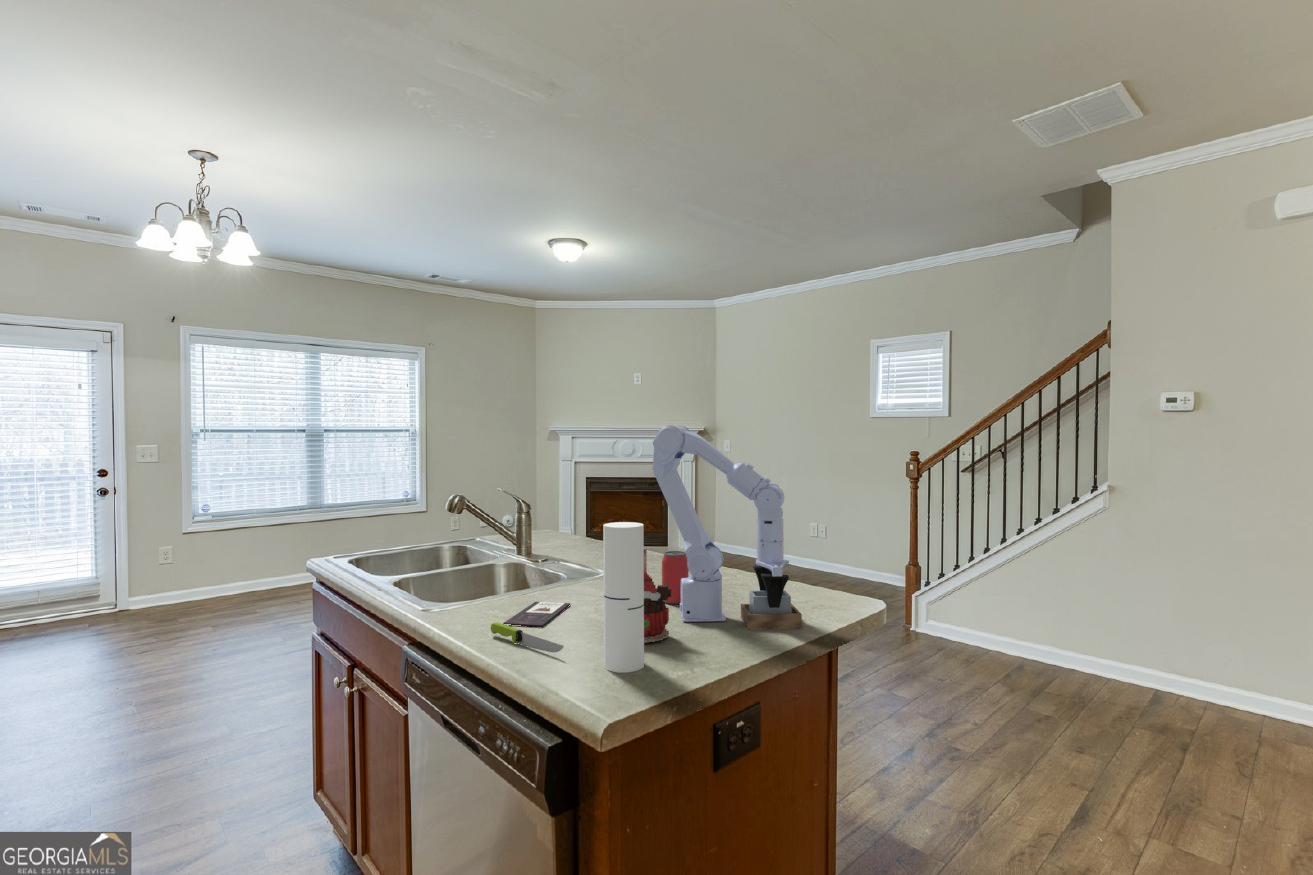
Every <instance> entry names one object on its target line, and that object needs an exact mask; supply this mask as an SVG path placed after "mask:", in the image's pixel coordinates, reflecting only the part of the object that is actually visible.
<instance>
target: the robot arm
mask: <svg viewBox="0 0 1313 875" xmlns="http://www.w3.org/2000/svg"><path fill="white" fill-rule="evenodd" d="M652 446H653V456H652V457H653V459H652V471H653V474H654V476H655V479H656V481H657V483H658V485H659V486H658V487H659V488H660V491H661V492H662V494H663V496H664V499H665V501H666V503H667V506H668V507H669V510H670V512H671V515H672V517H673V519H674V521H675V523H676V525H677V528H678V530H679V532H680V534H681V538H682V539H683V541H684V552H685V553H686V556H687V560H688V561H687V566H688V570H689V578H681V603H680V604H679V611H680V615H681V619H682V622H685V623H687V622H688V623H694V622H696V623H697V622H701V623H702V622H726V621H727V618H726V616H725V614H724V612H723V578H722V577H723V575H722V573H721V571H720V569H721V567H722V566H723V565H724V564H723V563H724V554H723V552H722V550H721V549H720V548H719V547H718V546H716V544H715V543H714V542H713V540H712V538H711V537H710V535H709V534H708V533H707V532H706V531H705V528H704V526H703V524H702V522H701V520H700V518H699V516H698V514H697V512H696V509H695V507H694V505H693V502H692V500H691V498H690V496H689V493H688V491H687V489H686V487H685V485H684V483H683V481H682V478H681V476H680V474H679V472H678V468H679V465H680V462H681V461H682V458H683V456H684V455H685V454H690V455H697V456H699V458H701V459H703V460H704V461H706V462H707V463H709V464H710V465H711V466H713V467H714V468H716V469H717V470H719V471H720V472H722V473H723V474H724V475H726V480H727V483H728V484H729V486H731V487H732V488H733V489H735V490H737V491H738V492H739V493H741V495H743V496H744V497H745V498H747V499H748V500H750V501H753V502H754V506H755V507H756V509H757V512H756V513H757V519H756V559H755V564H756V565H753V566H752V568H753V570H754V572H755V576H756V578H757V581H758V586H759V591H766V592H767V600H768V605H769V607H770V608H779V607H780V603H781V598H782V594H783V590H784V589H785V588H786V587H785V586H786V585H787V583H788V581H789V578H790V576H789V575H788V574H783V567H784V566H785V565H789V564H790V560H788V559H786V558H785V559H784V518H783V516H784V511H783V508H782V506H783V504H784V503H785V493H784V491H783V489H782V488H780V486H779V485H778V484H777V483H771V482H772V480H771V479H770V478H768V477H766V478H765V477H764V476H762V475H761V474H760V473H758V472H757V471H756V470H754V466H753V465H752V464H750V463H748V464H746V463H744V462H739V463H735V462H734V461H733V460H731V459H730V458H729V457H728V456H726V455H725V453H722V452H721V451H720V450H719V449H718V448H716V447H715V446H714V445H713V444H712V443H710V442H709V441H708V440H706V439H705V438H704V437H703V436H701V435H700V434H698V433H696V432H695V431H691V430H690V428H688V427H686V426H685V425H673V424H666V425H664V426H662V427H661V428H660V429H659V430H658V431H657V433H656V435H655V437H654V438H653V441H652Z"/></svg>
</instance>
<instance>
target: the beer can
mask: <svg viewBox="0 0 1313 875" xmlns="http://www.w3.org/2000/svg"><path fill="white" fill-rule="evenodd" d="M687 561H688V560H687V556H686V553H685V551H681V550H668V551H665V552H663V556H662V558H661V585H668V589H671V597H668V600H663V601H665V604H668V605H680V603H681V578H689V577H690V572H689V570H688V566H687Z"/></svg>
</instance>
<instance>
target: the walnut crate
mask: <svg viewBox="0 0 1313 875" xmlns="http://www.w3.org/2000/svg"><path fill="white" fill-rule="evenodd" d="M740 618H741V620H742V622H743V624H744V625H745V627H746V629H747V631H748V630H749V631H751V630H753V631H754V630H755V631H756V630H761V629H762V630H802V629H803V628H802V626H803V624H802V622H803V621H802V618H803V617H802V613H801V612H800V611H799V610H798V609H797V607H795V605H793V603H792V602H791V614H750V613H749V603H740Z"/></svg>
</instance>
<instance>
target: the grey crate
mask: <svg viewBox="0 0 1313 875" xmlns="http://www.w3.org/2000/svg"><path fill="white" fill-rule="evenodd" d="M748 592H749V593H748V596H749V597H748V598H749V599H748V600H749V603H748V604H749V613H750V614H791V603H792V602H791V601H792V600H791V599H792V597H791V595H790V594H789V593H788V592H787V591H786V590H783V594H782V598H781V603H780V607H779V608H770V607H769V605H768V600H767V592H766V591H760V590H749V591H748Z"/></svg>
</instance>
